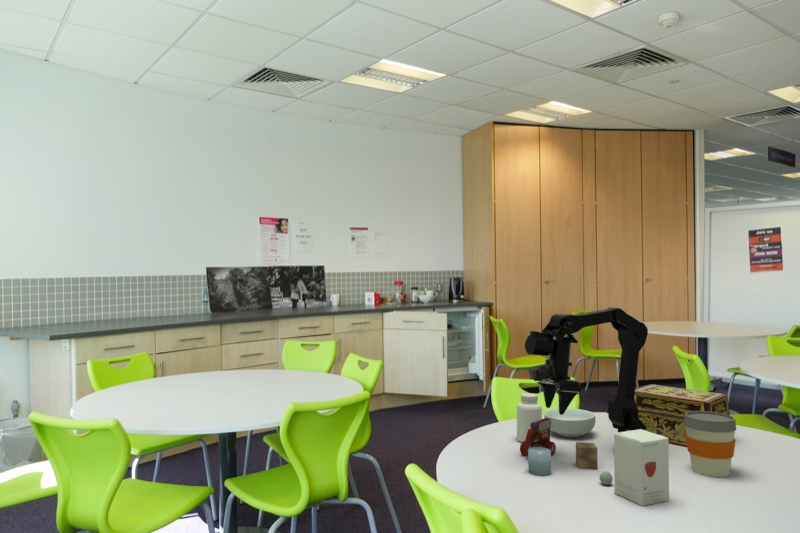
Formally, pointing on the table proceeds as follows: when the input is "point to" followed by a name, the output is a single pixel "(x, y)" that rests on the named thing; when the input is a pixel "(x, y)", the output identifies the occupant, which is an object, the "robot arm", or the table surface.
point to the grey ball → (606, 478)
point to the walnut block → (586, 455)
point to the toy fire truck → (538, 437)
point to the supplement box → (641, 466)
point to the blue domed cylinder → (539, 461)
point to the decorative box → (674, 409)
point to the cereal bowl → (571, 422)
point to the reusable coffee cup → (710, 442)
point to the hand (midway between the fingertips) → (554, 411)
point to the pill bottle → (527, 414)
